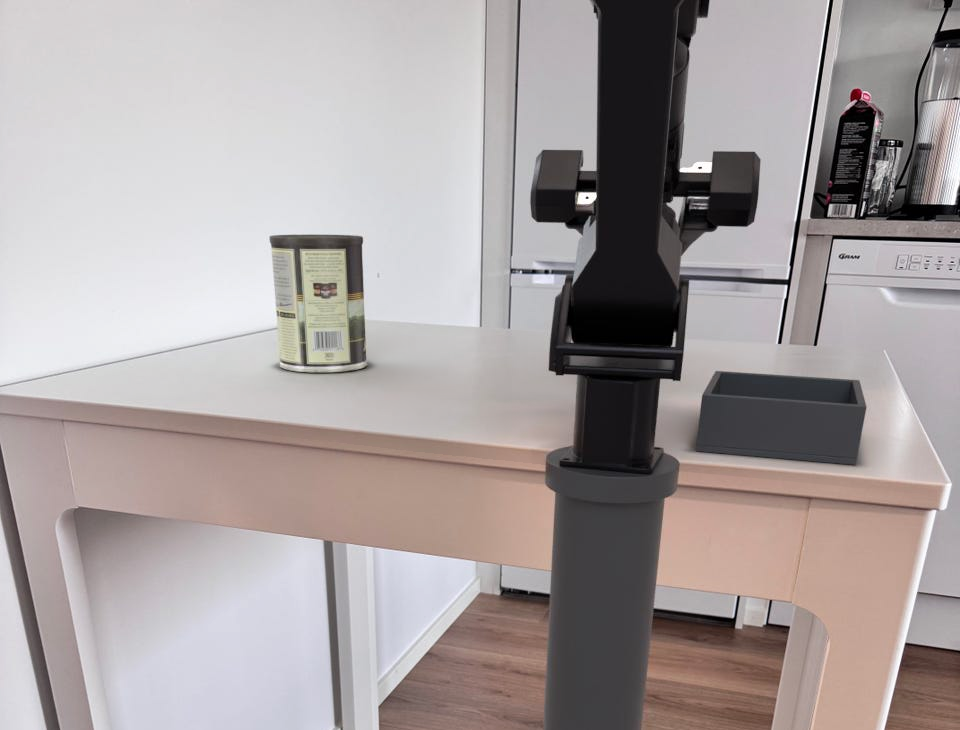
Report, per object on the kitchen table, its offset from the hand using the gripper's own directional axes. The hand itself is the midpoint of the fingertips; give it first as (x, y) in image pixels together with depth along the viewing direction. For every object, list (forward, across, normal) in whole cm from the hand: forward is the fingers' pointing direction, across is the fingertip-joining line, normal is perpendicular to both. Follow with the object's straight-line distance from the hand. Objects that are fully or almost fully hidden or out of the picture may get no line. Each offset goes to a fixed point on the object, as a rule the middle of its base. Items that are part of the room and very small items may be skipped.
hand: (640, 259), depth 88 cm
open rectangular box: (+1, -13, +18) cm, 23 cm away
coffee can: (+19, +36, 0) cm, 41 cm away
